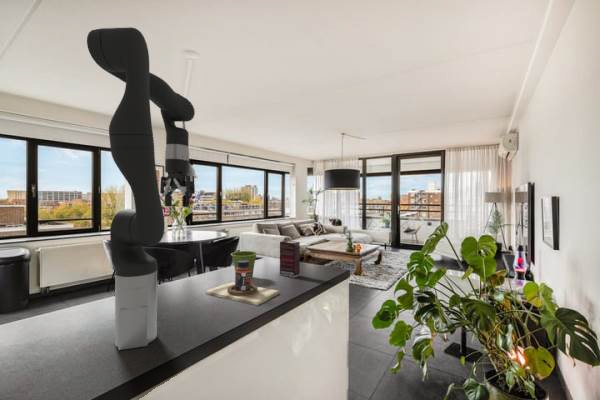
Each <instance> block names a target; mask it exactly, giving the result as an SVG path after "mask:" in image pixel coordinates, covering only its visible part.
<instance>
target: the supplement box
mask: <svg viewBox="0 0 600 400" xmlns="http://www.w3.org/2000/svg"><path fill="white" fill-rule="evenodd" d="M300 245H301V244H300V241H293V240H292V241H290V240H283V241H279V275H280V276H282V275H284V276H283V277H288V276H289V278H297V277H300V273H301V272H300V271H301V269H300V266H301V265H300V260H301V258H300V252H301V251H300V249H301V248H300V247H301V246H300Z"/></svg>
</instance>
